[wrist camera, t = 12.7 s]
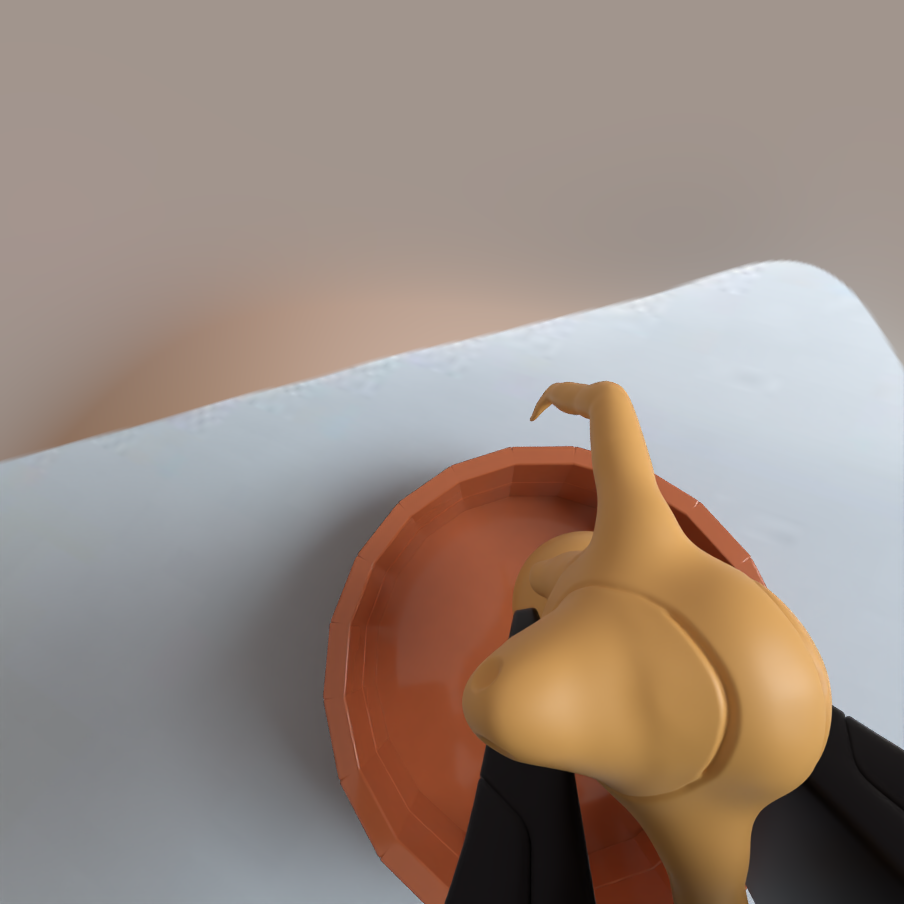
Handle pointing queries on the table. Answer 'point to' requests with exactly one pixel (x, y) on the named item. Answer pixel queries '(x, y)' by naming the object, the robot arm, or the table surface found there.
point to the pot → (466, 660)
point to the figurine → (654, 669)
